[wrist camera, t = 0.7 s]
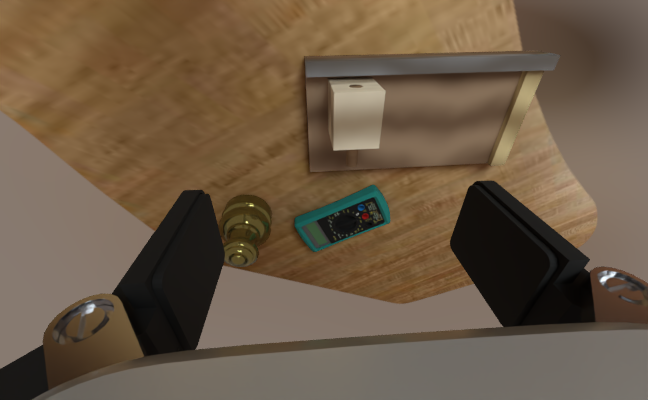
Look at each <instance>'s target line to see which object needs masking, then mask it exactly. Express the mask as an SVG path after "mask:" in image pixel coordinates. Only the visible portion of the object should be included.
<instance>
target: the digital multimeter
mask: <svg viewBox="0 0 648 400" xmlns="http://www.w3.org/2000/svg"><path fill="white" fill-rule="evenodd" d="M347 207H348V208H347ZM335 212H336V213H335ZM323 217H324V218H323ZM355 217H356V218H355ZM388 223H390V212H389V208H388V205H387V203H386V201H385V198H384V196H383V195H382V193H381V192H380V191H379V189H378V188H377V187H376V186H375V185H371V186H369V187H367V188H365V189H363V190H361V191H359V192H356V193H354V194H352V195H350V196H347V197H345V198H343V199H341V200H339V201H336V202H334V203H331V204H329V205H326V206H324V207H322V208H319V209H317V210H314V211H311V212H308V213H306V214H303V215H301V216H298V217H296V218H295V228H296V230H297V231H298V233H299V235H300V236H301V238H302V239H303V241H304V242H305V243H306V244H307V246H308V247H309V248H310V249H311V250H312V251H313V252H317V251H319V250H322V249H324V248H326V247H329V246H331V245H333V244H336V243H338V242H341V241H343V240H346V239H348V238H351V237H353V236H356V235H359V234H361V233H364V232H367V231H369V230H372V229H375V228H377V227H380V226H383V225H386V224H388Z"/></svg>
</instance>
